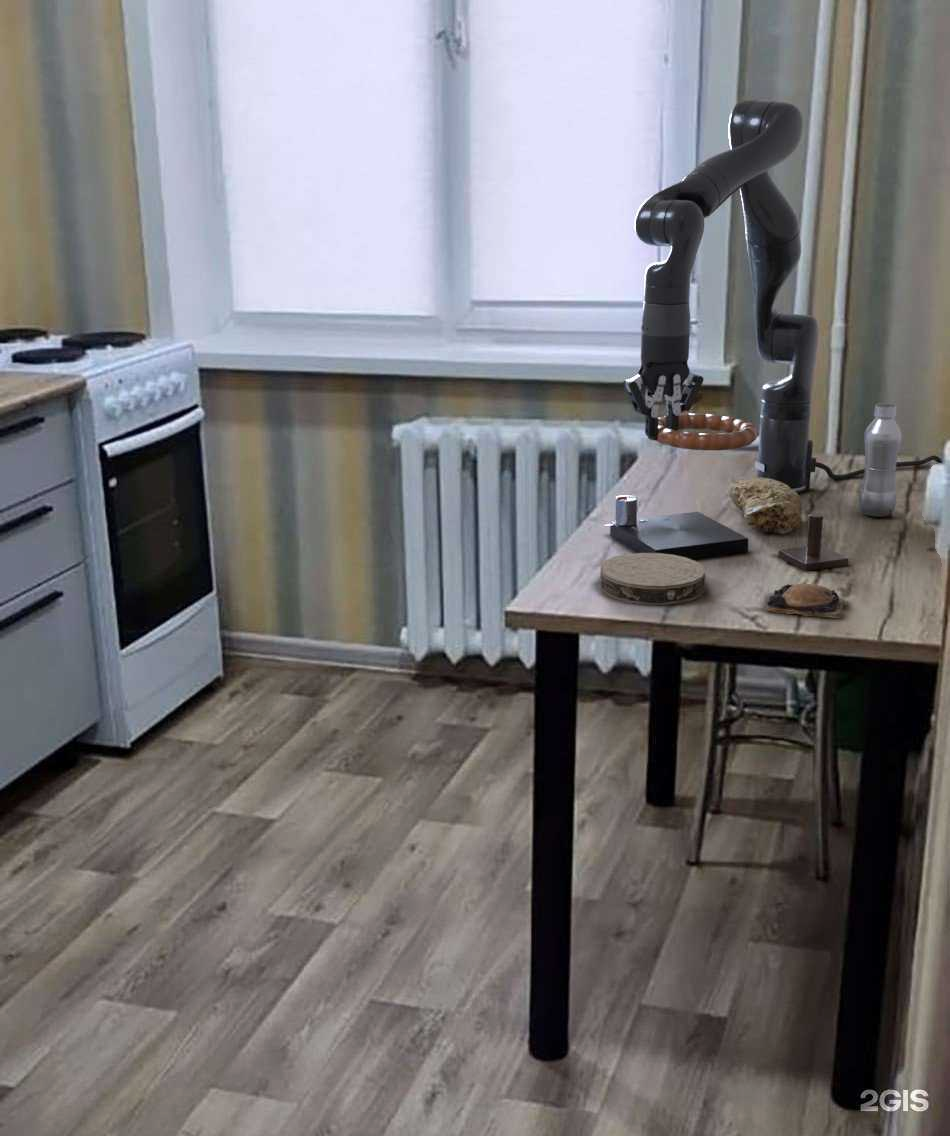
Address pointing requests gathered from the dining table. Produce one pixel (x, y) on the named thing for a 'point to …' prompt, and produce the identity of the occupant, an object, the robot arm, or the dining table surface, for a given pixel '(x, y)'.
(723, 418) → the brown segmented ring
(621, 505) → the hob knob
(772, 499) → the sponge
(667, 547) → the hob
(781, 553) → the peg
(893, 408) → the plastic bottle
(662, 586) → the tan disc
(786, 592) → the bread roll
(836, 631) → the dining table surface
